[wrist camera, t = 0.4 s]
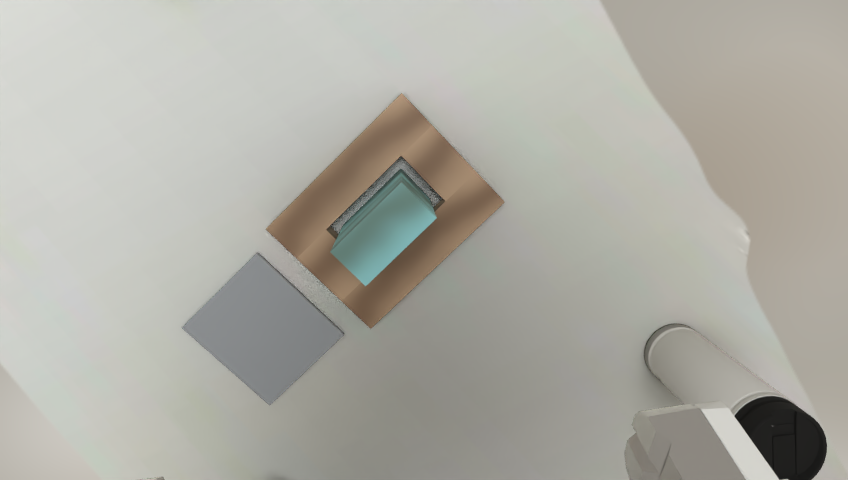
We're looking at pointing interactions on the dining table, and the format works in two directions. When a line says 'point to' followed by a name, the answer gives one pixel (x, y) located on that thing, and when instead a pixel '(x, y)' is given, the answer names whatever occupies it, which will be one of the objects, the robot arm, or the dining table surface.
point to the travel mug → (738, 399)
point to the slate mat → (263, 329)
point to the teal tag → (383, 227)
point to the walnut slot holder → (352, 175)
